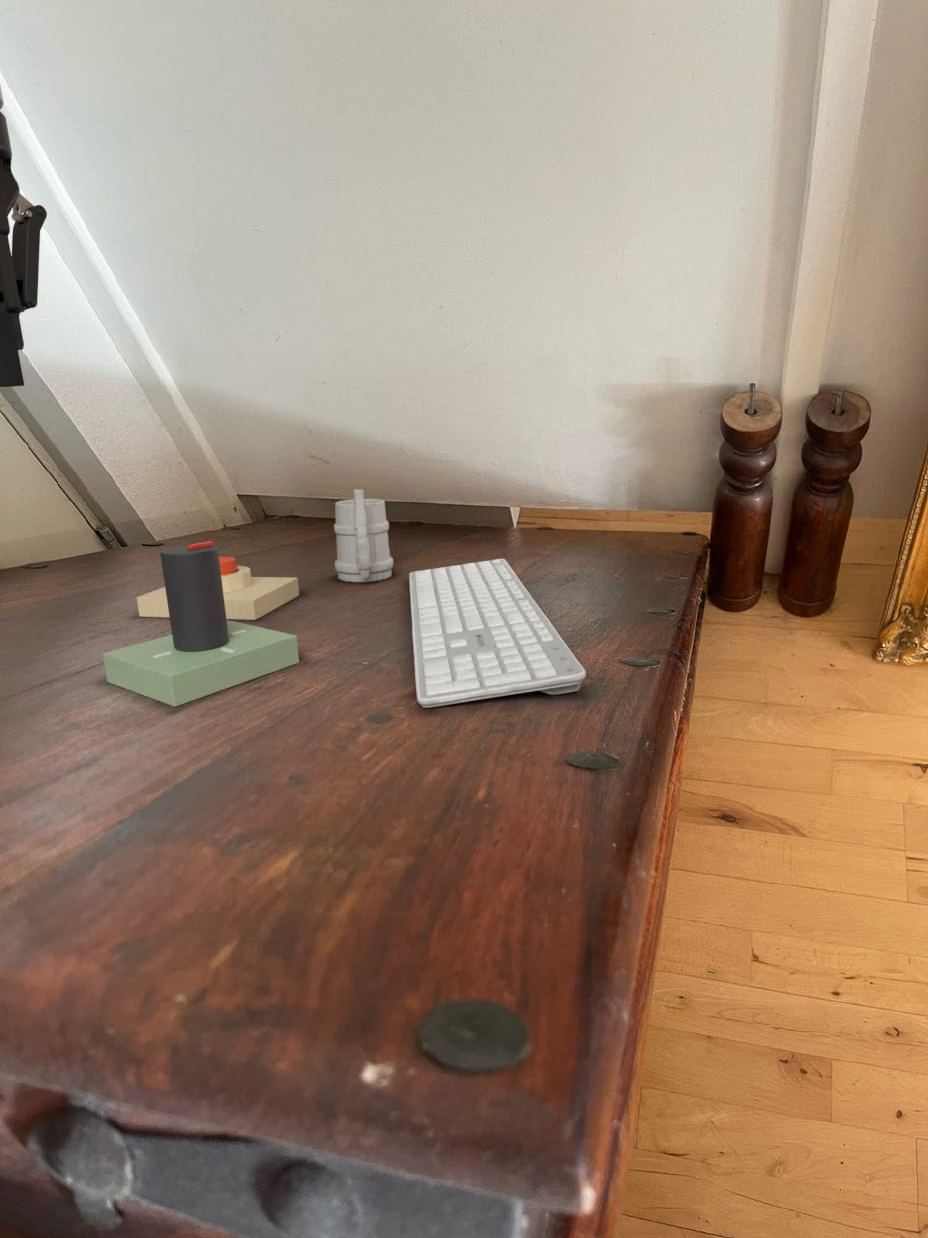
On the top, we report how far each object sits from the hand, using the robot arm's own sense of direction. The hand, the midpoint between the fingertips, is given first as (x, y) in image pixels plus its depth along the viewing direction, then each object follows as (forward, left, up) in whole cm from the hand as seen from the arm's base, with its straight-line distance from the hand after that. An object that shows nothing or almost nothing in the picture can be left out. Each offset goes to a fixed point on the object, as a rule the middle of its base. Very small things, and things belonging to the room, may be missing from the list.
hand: (8, 385), depth 72 cm
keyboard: (+41, +18, -25) cm, 51 cm away
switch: (+10, +14, -21) cm, 27 cm away
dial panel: (+26, -4, -24) cm, 36 cm away
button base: (+10, +14, -24) cm, 30 cm away
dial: (+26, -4, -22) cm, 34 cm away
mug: (+18, +31, -25) cm, 43 cm away
